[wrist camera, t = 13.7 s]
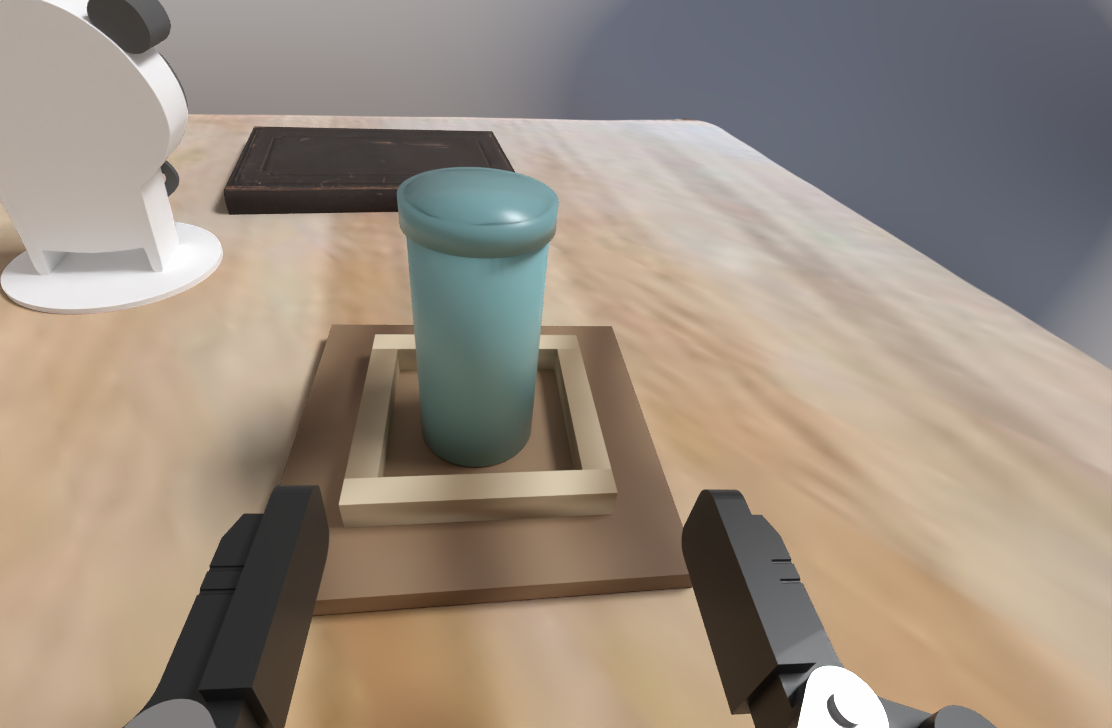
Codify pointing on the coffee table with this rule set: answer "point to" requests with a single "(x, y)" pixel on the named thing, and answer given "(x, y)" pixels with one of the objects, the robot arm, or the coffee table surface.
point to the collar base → (483, 483)
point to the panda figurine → (93, 157)
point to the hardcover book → (346, 167)
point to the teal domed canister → (477, 305)
